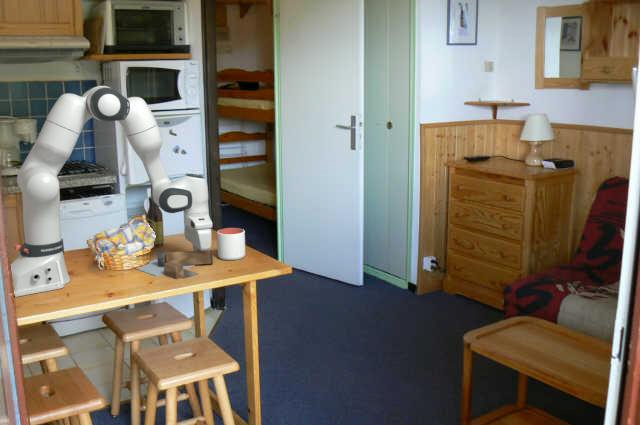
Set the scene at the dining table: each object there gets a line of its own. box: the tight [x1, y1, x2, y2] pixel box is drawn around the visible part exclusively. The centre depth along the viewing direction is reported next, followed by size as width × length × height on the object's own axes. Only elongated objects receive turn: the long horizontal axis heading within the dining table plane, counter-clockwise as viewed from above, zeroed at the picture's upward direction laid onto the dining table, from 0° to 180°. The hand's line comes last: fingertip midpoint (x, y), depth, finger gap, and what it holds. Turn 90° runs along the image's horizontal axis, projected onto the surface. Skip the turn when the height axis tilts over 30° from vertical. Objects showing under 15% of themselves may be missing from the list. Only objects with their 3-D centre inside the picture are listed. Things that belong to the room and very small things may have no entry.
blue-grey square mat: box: [135, 259, 196, 277], centre depth 249 cm, size 16×16×1 cm
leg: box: [156, 249, 214, 266], centre depth 249 cm, size 19×4×5 cm, turn 101°
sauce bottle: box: [145, 195, 165, 248], centre depth 273 cm, size 7×6×20 cm
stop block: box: [164, 262, 199, 280], centre depth 239 cm, size 8×8×4 cm
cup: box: [216, 227, 246, 261], centre depth 258 cm, size 10×10×10 cm
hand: (197, 256), depth 254 cm, fingers closed
